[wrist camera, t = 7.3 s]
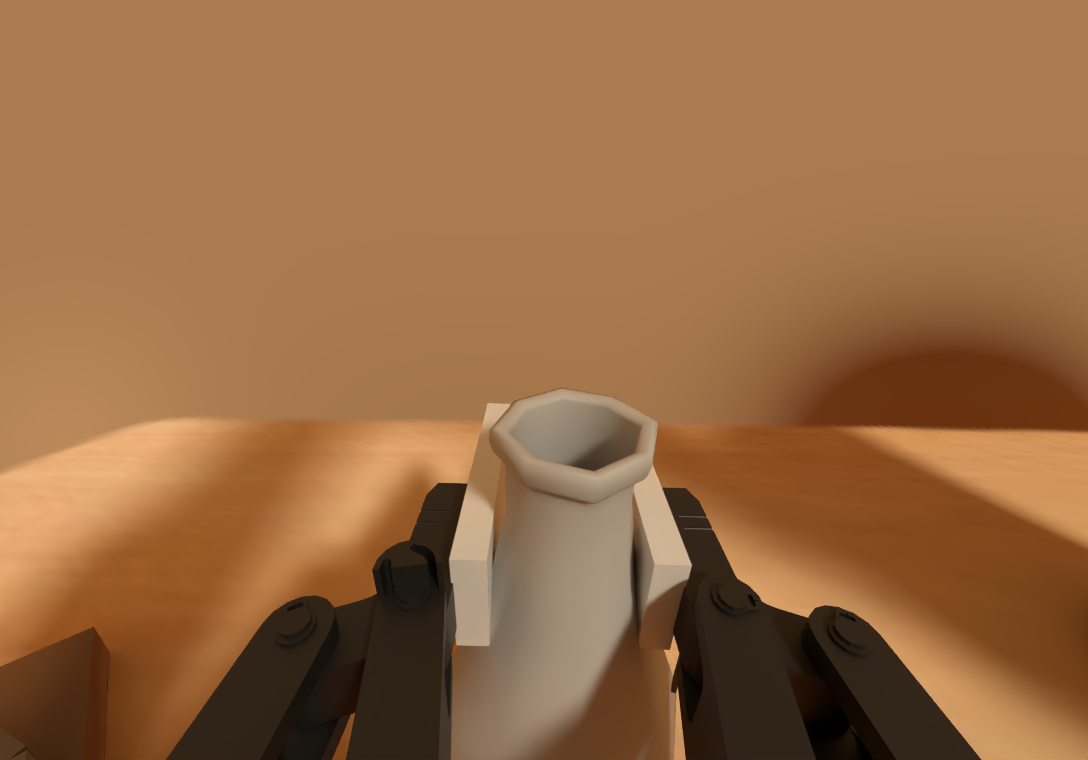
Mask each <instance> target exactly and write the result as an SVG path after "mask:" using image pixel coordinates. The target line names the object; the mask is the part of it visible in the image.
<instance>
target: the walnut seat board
mask: <svg viewBox="0 0 1088 760" xmlns="http://www.w3.org/2000/svg"><path fill="white" fill-rule="evenodd" d="M108 664H109V651H108V649H107V648H106V646H105V644H104V643H103V641H102V640H101V638H100V636H99V635H98V633H97V631H96V630H95V628H94V627H93V628H90V629H88V630H86V631H83V632H81V633H79V634H76V635H74V636H72V637H69V638H67V639H65V640H62V641H60V642H58V643H55V644H53V645H51V646H48V647H46V648H44V649H41V650H39V651H37V652H34V653H32V654H30V655H27V656H25V657H23V658H20V659H18V660H16V661H13V662H11V663H9V664H6V665H4V666H2V667H0V760H104V751H105V729H106V707H107V686H108Z"/></svg>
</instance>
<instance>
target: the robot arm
mask: <svg viewBox="0 0 1088 760" xmlns="http://www.w3.org/2000/svg"><path fill="white" fill-rule="evenodd" d="M509 406H510V404H501V403H488V404H487V408H486V413H485V416H484V420H483V424H482V428H481V432H480V437H479V441H478V445H477V449H476V453H475V457H474V461H473V465H472V469H471V473H470V477H469V481H468V484H461V483H438V484H437V485H436V486H435V487H434V488H433V489H432V490H431V491H430V492H429V493H428V494H427V495H426V498H425V501H424V503H423V506H422V509H421V512H420V514H419V517H418V519H417V524H416V525H415V528H414V530H413V533H412V536H411V538H410V540H409V541H405V542H401V543H398V544H396V545H394V546H392V547H391V548H389V549H387V550H386V551H385V552H384V553H383V554H382V555H381V556H380V557H379V558H378V559H377V561H376V563H375V565H374V567H373V570H372V571H373V576H374V581H375V586H376V591H377V594H375V595H373V596H372V597H369V598H367V599H364V600H361V601H358V602H354V603H350V604H347V605H343V606H339V607H335V608H334V607H333V605H332V604H331V603H330V602H329V601H328V600H327V599H325V598H322V597H319V596H305V597H300V598H298V599H295V600H292V601H290V602H287V603H286V604H284V605H283V606H281V607H280V608H278V609H277V610H275V611H274V612H273V613H272V614H271V615H270V616H269V617H268V618H267V619H266V620H265V621H264V622H263V624H262V625H261V626H260V628H259V629H258V631H257V632H256V633H255V635H254V636H253V638H252V639H251V640H250V642H249V643H248V645H247V646H246V648H245V649H244V650H243V652H242V653H241V655H240V656H239V657H238V659H237V660H236V662H235V663H234V664H233V666H232V667H231V669H230V670H229V672H228V673H227V674H226V676H225V677H224V679H223V680H222V681H221V683H220V684H219V686H218V687H217V689H216V690H215V691H214V693H213V694H212V696H211V697H210V698H209V700H208V701H207V703H206V704H205V706H204V707H203V708H202V710H201V711H200V713H199V714H198V715H197V717H196V718H195V720H194V721H193V723H192V724H191V725H190V727H189V728H188V730H187V731H186V732H185V734H184V735H183V737H182V738H181V740H180V741H179V742H178V744H177V745H176V747H175V748H174V749H173V751H172V752H171V754H170V755H169V756H168V758H167V759H166V760H332V758H333V756H334V753H335V751H336V749H337V746H338V744H339V742H340V739H341V737H342V734H343V732H344V730H345V727H346V725H347V722H348V720H349V718H350V715H351V714H353V713H355V717H354V722H353V727H352V732H351V737H350V742H349V747H348V752H347V758H346V760H451V725H452V672H453V667H452V657H451V655H452V649H453V644H454V639H455V636H456V645H462V646H489V644H490V616H491V588H492V566H493V562H494V557H495V553H496V549H497V544H498V540H499V535H500V531H501V527H502V522H503V518H504V514H505V479H506V471H505V464H504V462H503V461H502V460H501V459H500V458H499V457H498V456H497V455H496V454H495V453H494V452H493V451H492V448H491V445H490V442H489V430H490V429H491V428H492V427H493V425H494V424H495V423H496V422H497V421H498V419H499V418H500V417H501V416H502V415H503V414H504V412H505V411H506V410H507V409H508V408H509ZM632 509H633V524H634V539H635V573H636V596H637V620H638V643H639V646H640V649H664V650H670V647H671V643H672V639H673V635H674V637H675V640H676V643H677V647H678V650H679V657H678V661H677V665H676V668H675V672H674V675H673V679H672V683H671V693H676V691H677V687H678V691H679V700H680V710H681V719H682V728H683V737H684V746H685V755H686V760H981V759H980V757H979V756H978V755H977V754H976V752H975V751H974V750H973V749H972V748H971V746H970V745H969V744H968V743H967V741H966V740H965V739H964V738H963V736H962V735H961V734H960V733H959V731H958V730H957V729H956V728H955V727H954V725H953V724H952V723H951V722H950V720H949V719H948V718H947V717H946V715H945V714H944V713H943V712H942V710H941V709H940V708H939V707H938V706H937V704H936V703H935V702H934V701H933V699H932V698H931V697H930V696H929V694H928V693H927V692H926V691H925V690H924V688H923V687H922V686H921V685H920V683H919V682H918V681H917V680H916V678H915V677H914V676H913V675H912V673H911V672H910V671H909V670H908V669H907V667H906V666H905V665H904V664H903V662H902V661H901V660H900V659H899V657H898V656H897V655H896V654H895V652H894V651H893V650H892V649H891V648H890V646H889V645H888V644H887V643H886V641H885V640H884V639H883V638H882V636H881V635H880V634H879V633H878V632H877V631H876V630H875V629H874V628H873V627H872V626H871V625H870V624H869V623H868V622H866V621H864V620H863V619H861V618H860V617H858V616H857V615H855V614H854V613H852V612H849V611H847V610H844V609H842V608H840V607H834V606H827V605H825V606H821V607H817V608H815V609H814V610H813V612H812V613H811V614H810V616H809V618H807V617H803V616H800V615H797V614H794V613H790V612H787V611H784V610H780V609H777V608H775V607H772V606H770V605H767V604H765V603H763V602H762V601H761V599H760V597H759V596H758V595H757V594H756V593H755V592H754V591H753V590H752V589H751V588H750V587H749V586H748V585H747V584H745V583H743V582H742V581H740V580H738V579H737V578H736V576H735V574H734V572H733V570H732V568H731V566H730V564H729V562H728V560H727V557H726V555H725V553H724V551H723V549H722V547H721V545H720V543H719V541H718V539H717V537H716V535H715V533H714V531H712V527H711V525H710V523H709V521H708V519H707V518H706V514H705V512H704V510H703V508H702V506H701V504H700V502H699V501H698V500H697V499H696V498H695V497H694V496H693V495H692V494H691V493H690V492H689V491H688V490H687V489H686V488H662V487H661V484H660V482H659V479H658V477H657V474H656V471H655V469H654V466H653V464H652V468H651V470H650V472H649V474H648V476H647V478H645V479H644V480H642V481H640V482H638V483H636V484H635V485H634V492H633V499H632Z"/></svg>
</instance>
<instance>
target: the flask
mask: <svg viewBox="0 0 1088 760" xmlns="http://www.w3.org/2000/svg"><path fill="white" fill-rule="evenodd" d="M657 431H658V422H657V421H655V420H654V419H652V418H650V417H648V416H647V415H645V414H643V413H642V412H640V411H638V410H636V409H635V408H633V407H631V406H629V405H628V404H626V403H624V402H622V401H621V400H619V399H617V398H616V397H611V396H605V395H600V394H594V393H588V392H583V391H577V390H572V389H566V388H558V389H554V390H551V391H548V392H544V393H541V394H537V395H533V396H530V397H526V398H523V399H519V400H516V401H514V402H513V403H512V404H511V405H510V406H509V408H508V409H507V410H506V411H505V412H504V414H503V415H502V416H501V417H500V418H499V419H498V421H497V422H496V423H495V424H494V425H493V427H492V428H491V429H490V430H489V442H490V445H491V448H492V451H493V452H494V453H495V454H496V455H497V456H498V457H499V458H500V459H501V460H502V461H503V462H504V464H505V471H506V479H505V514H504V518H503V522H502V527H501V531H500V535H499V540H498V544H497V549H496V553H495V557H494V562H493V566H492V588H491V616H490V644H489V646H462V645H459V646H458V648H457V650H456V652H455V654H454V656H453V658H452V667H453V672H452V725H451V760H674V741H675V715H676V693H671V683H672V679H673V675H672V672H671V669H670V666H669V664H668V661H667V658H666V655H665V652H664V649H640V646H639V643H638V620H637V596H636V573H635V539H634V524H633V509H632V499H633V492H634V485H635V484H636V483H638V482H640V481H642V480H644V479H645V478H647V476H648V474H649V472H650V470H651V468H652V463H653V457H654V450H655V444H656V437H657Z"/></svg>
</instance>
